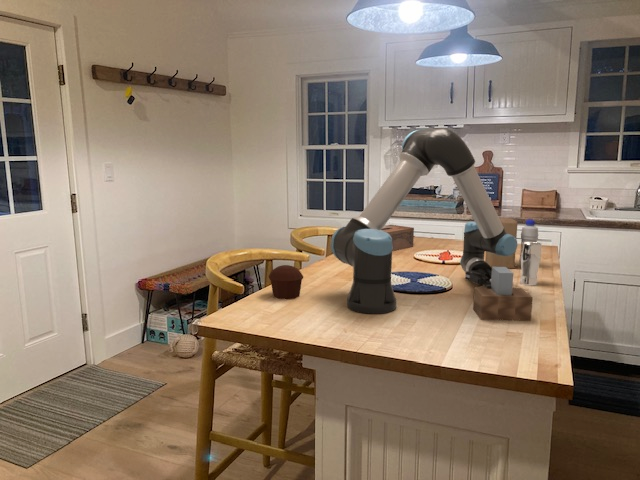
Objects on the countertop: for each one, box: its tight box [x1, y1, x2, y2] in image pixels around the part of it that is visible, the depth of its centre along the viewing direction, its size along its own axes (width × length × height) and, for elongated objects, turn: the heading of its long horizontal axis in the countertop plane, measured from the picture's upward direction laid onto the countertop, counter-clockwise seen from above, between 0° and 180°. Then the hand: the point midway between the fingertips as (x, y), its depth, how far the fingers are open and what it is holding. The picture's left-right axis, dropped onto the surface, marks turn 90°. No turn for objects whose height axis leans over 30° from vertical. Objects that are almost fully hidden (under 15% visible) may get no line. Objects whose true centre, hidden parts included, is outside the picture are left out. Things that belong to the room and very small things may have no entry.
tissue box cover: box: [381, 224, 415, 252], centre depth 255 cm, size 26×14×10 cm, turn 134°
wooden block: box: [484, 217, 518, 270], centre depth 216 cm, size 10×10×20 cm
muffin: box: [268, 264, 304, 301], centre depth 172 cm, size 12×11×10 cm
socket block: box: [472, 285, 533, 322], centre depth 153 cm, size 14×10×8 cm
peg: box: [491, 267, 514, 295], centre depth 154 cm, size 4×8×13 cm, turn 176°
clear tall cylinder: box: [519, 242, 542, 287], centre depth 189 cm, size 7×7×15 cm
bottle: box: [519, 219, 539, 267], centre depth 214 cm, size 7×7×20 cm
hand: (497, 288), depth 158 cm, fingers closed
